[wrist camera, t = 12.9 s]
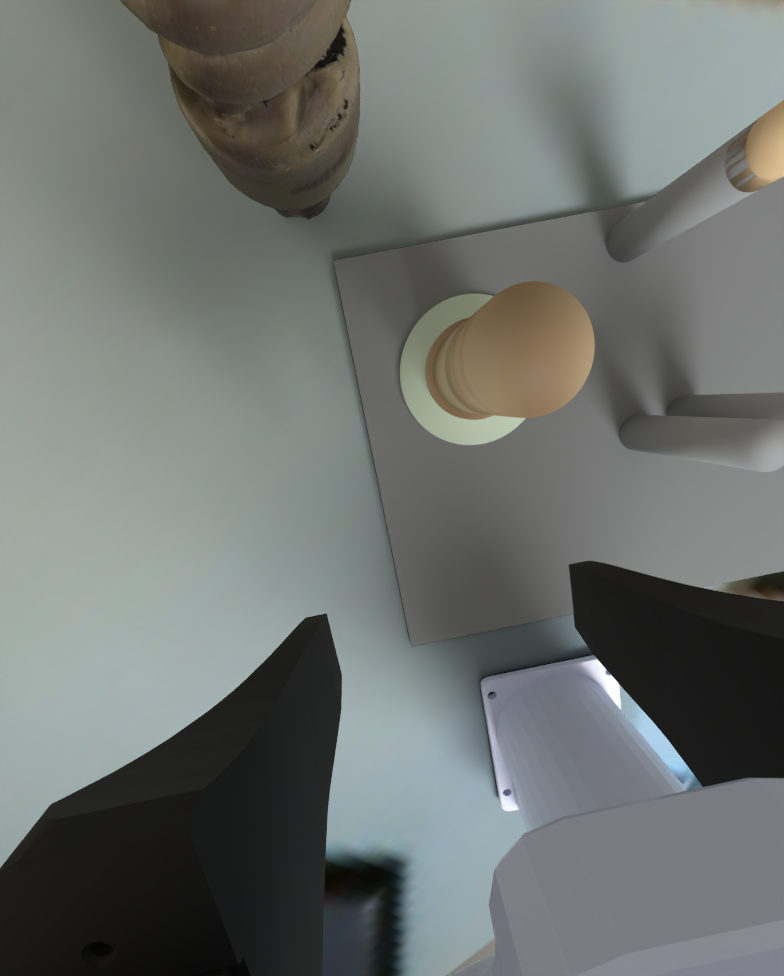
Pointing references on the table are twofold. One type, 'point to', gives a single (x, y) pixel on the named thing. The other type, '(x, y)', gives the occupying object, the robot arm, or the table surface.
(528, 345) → the cylinder
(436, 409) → the pad
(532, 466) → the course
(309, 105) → the light bulb
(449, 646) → the table surface
